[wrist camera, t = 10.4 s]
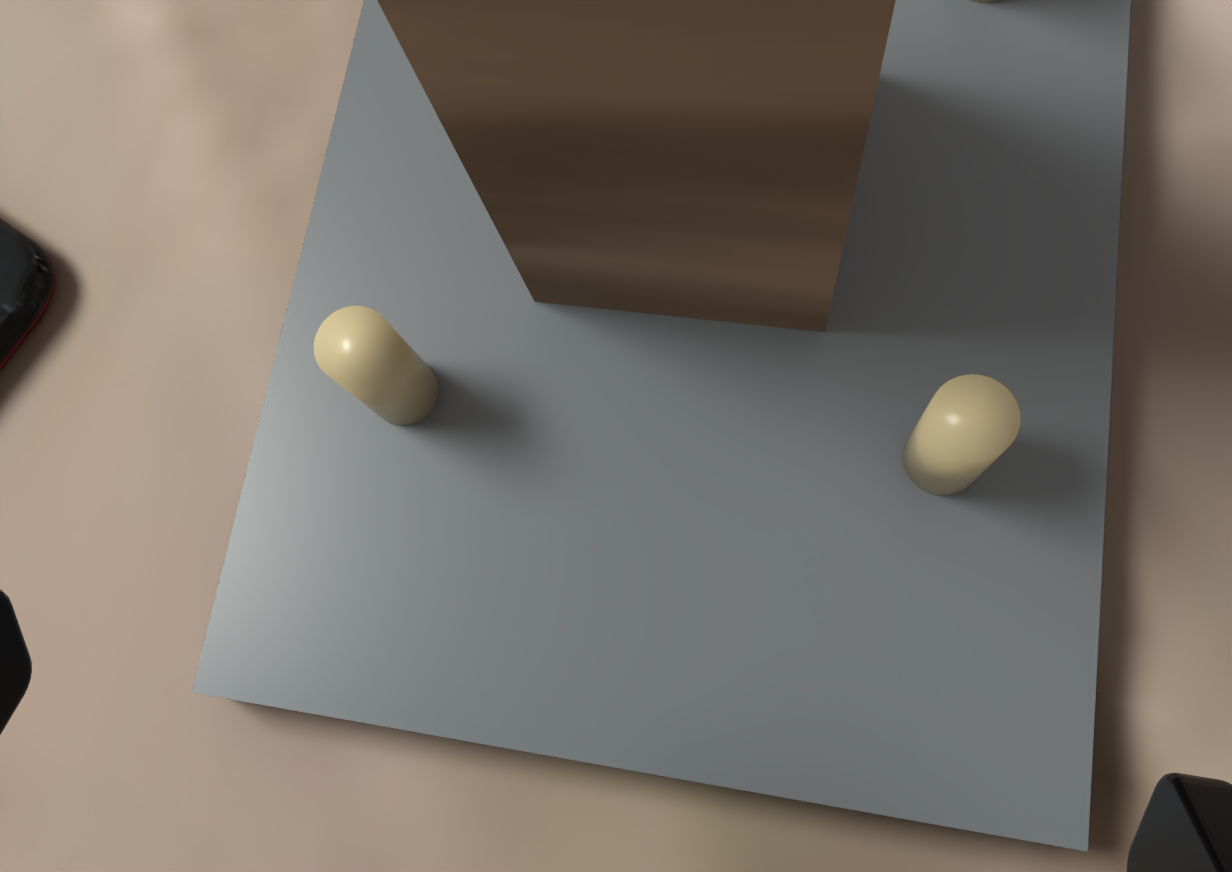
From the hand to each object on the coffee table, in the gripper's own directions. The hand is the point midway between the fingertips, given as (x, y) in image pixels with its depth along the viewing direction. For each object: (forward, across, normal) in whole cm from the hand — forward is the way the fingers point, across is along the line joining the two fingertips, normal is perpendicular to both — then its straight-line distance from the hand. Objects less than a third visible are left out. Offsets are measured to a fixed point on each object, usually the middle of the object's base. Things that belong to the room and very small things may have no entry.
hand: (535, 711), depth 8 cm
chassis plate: (+13, 0, 0) cm, 13 cm away
